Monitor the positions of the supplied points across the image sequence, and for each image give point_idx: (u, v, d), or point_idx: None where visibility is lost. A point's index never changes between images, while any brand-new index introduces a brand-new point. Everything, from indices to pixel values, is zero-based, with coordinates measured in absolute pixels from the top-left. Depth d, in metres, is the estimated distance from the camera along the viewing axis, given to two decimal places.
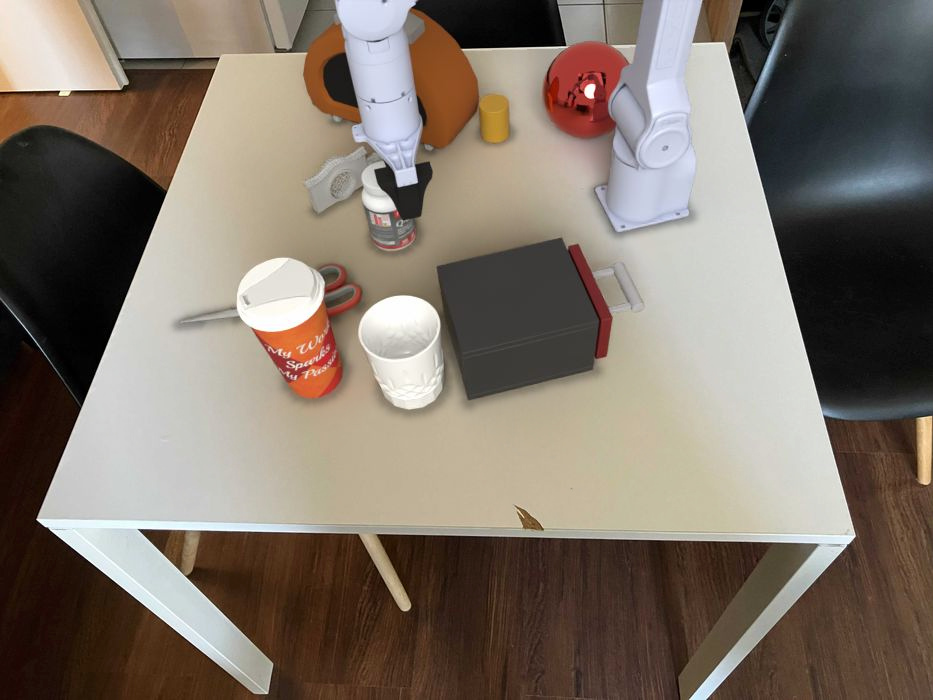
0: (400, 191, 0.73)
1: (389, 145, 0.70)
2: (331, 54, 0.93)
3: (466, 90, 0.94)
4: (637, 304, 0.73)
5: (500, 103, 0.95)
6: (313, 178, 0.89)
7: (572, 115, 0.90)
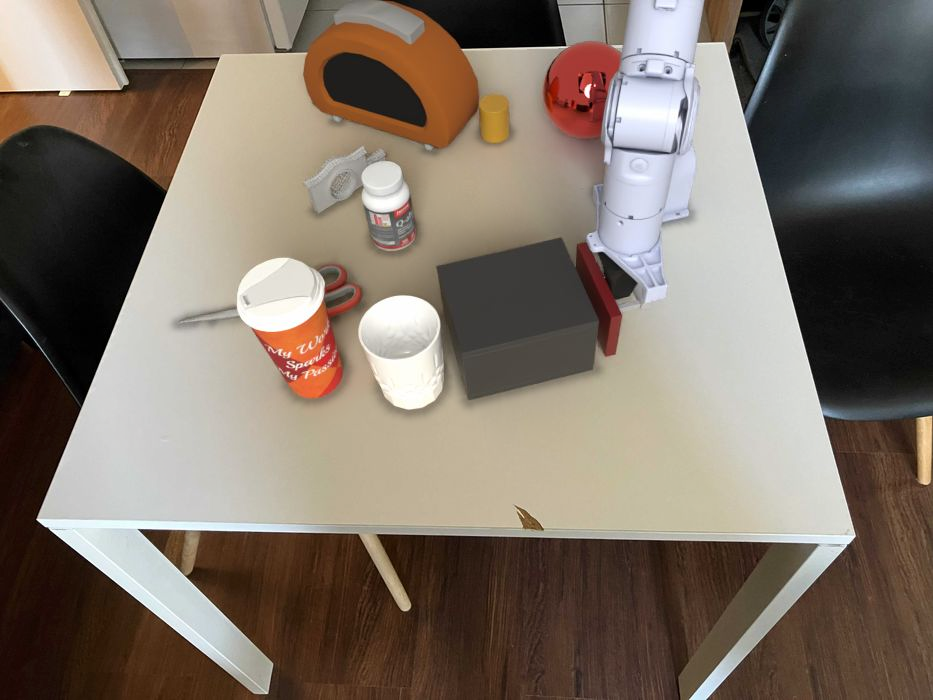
0: (619, 274, 0.72)
1: (632, 257, 0.67)
2: (331, 54, 0.93)
3: (466, 90, 0.94)
4: None
5: (500, 103, 0.95)
6: (313, 178, 0.89)
7: (572, 115, 0.90)
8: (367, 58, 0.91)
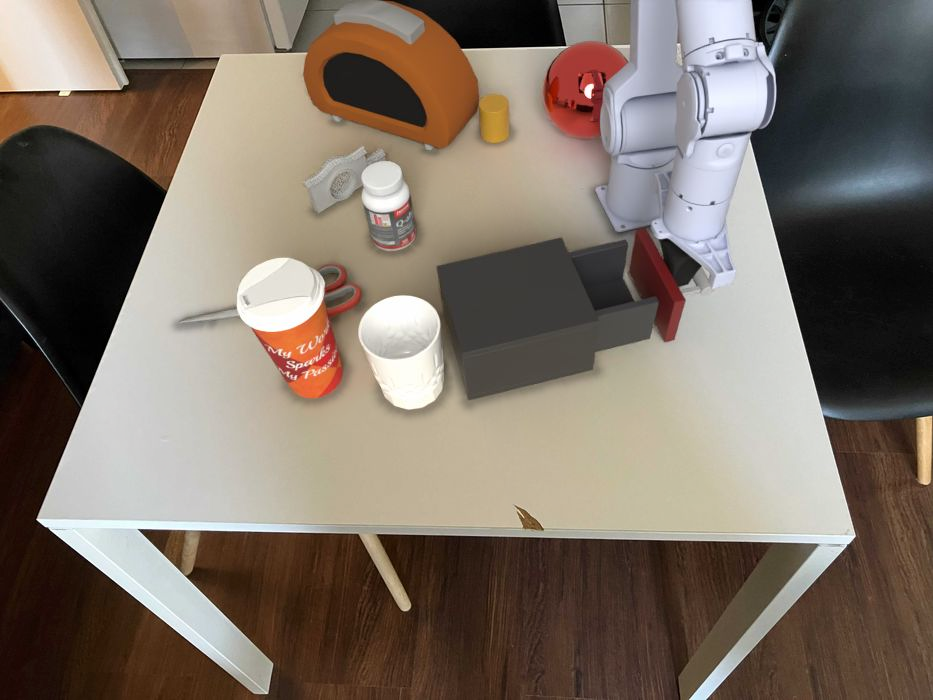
0: None
1: (698, 244, 0.68)
2: (331, 54, 0.93)
3: (466, 90, 0.94)
4: (707, 287, 0.74)
5: (500, 103, 0.95)
6: (313, 178, 0.89)
7: (572, 115, 0.90)
8: (367, 58, 0.91)
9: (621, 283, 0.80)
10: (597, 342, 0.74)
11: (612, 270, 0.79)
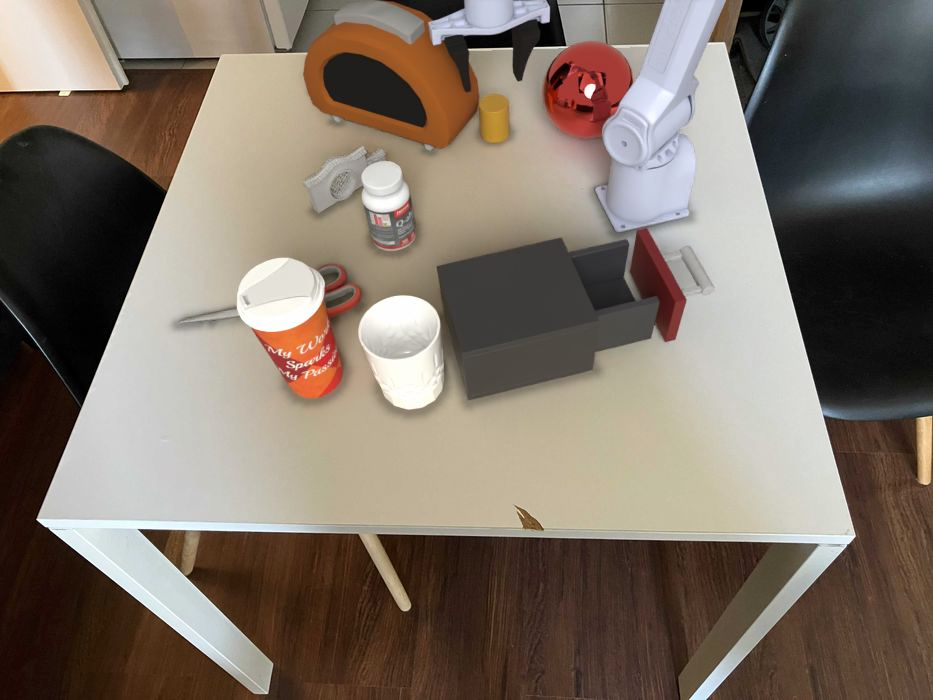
0: None
1: (463, 17, 0.86)
2: (331, 54, 0.93)
3: None
4: (708, 287, 0.74)
5: (500, 103, 0.95)
6: (313, 178, 0.89)
7: (572, 115, 0.90)
8: (367, 58, 0.91)
9: (622, 283, 0.80)
10: (598, 342, 0.74)
11: (613, 270, 0.79)
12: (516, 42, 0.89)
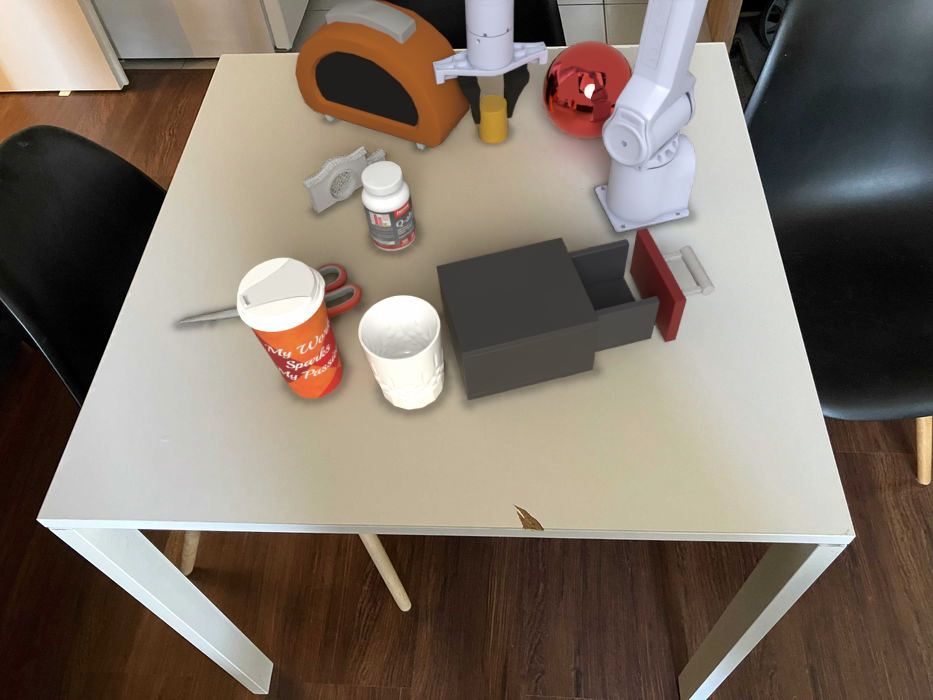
0: None
1: (466, 58, 0.90)
2: (322, 54, 0.93)
3: (458, 89, 0.94)
4: (708, 287, 0.74)
5: (498, 103, 0.95)
6: (313, 178, 0.89)
7: (572, 115, 0.90)
8: (359, 57, 0.91)
9: (622, 283, 0.80)
10: (598, 342, 0.74)
11: (613, 270, 0.79)
12: (507, 82, 0.94)
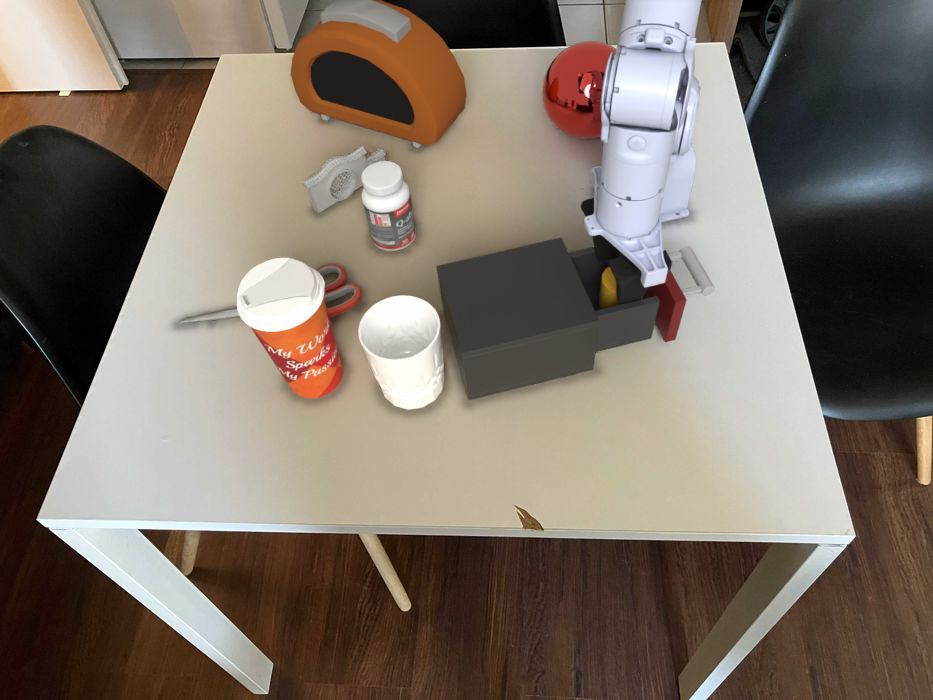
0: None
1: (630, 240, 0.65)
2: (318, 53, 0.93)
3: (453, 87, 0.94)
4: (708, 287, 0.74)
5: None
6: (313, 178, 0.89)
7: (572, 115, 0.90)
8: (354, 56, 0.91)
9: None
10: (598, 342, 0.74)
11: None
12: None
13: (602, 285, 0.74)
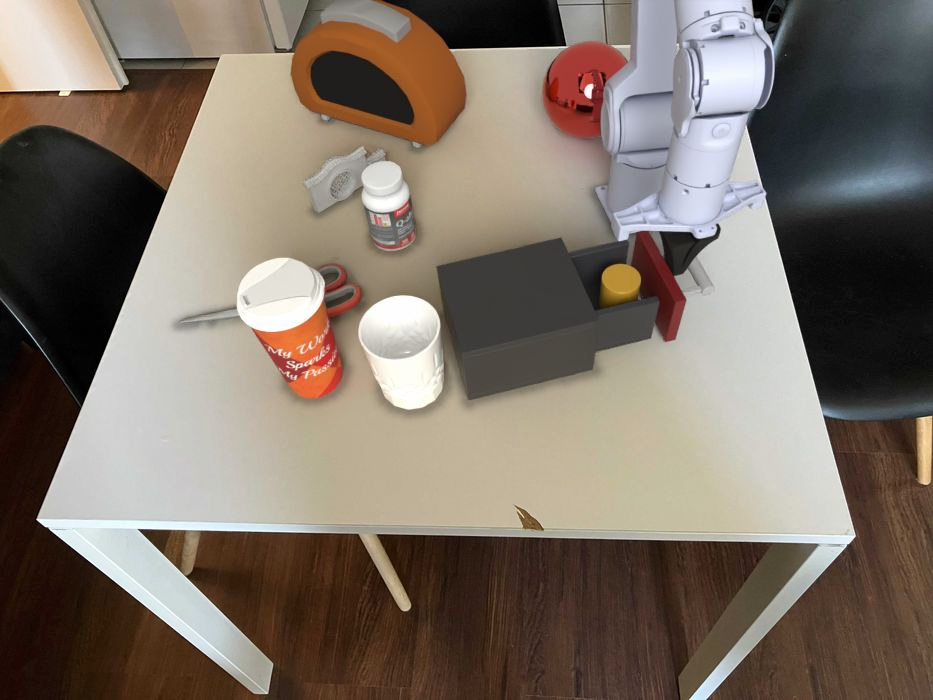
0: None
1: (722, 203, 0.67)
2: (318, 53, 0.93)
3: (453, 87, 0.94)
4: (708, 287, 0.74)
5: (622, 271, 0.74)
6: (313, 178, 0.89)
7: (572, 115, 0.90)
8: (354, 56, 0.91)
9: None
10: (598, 342, 0.74)
11: None
12: None
13: (602, 285, 0.74)
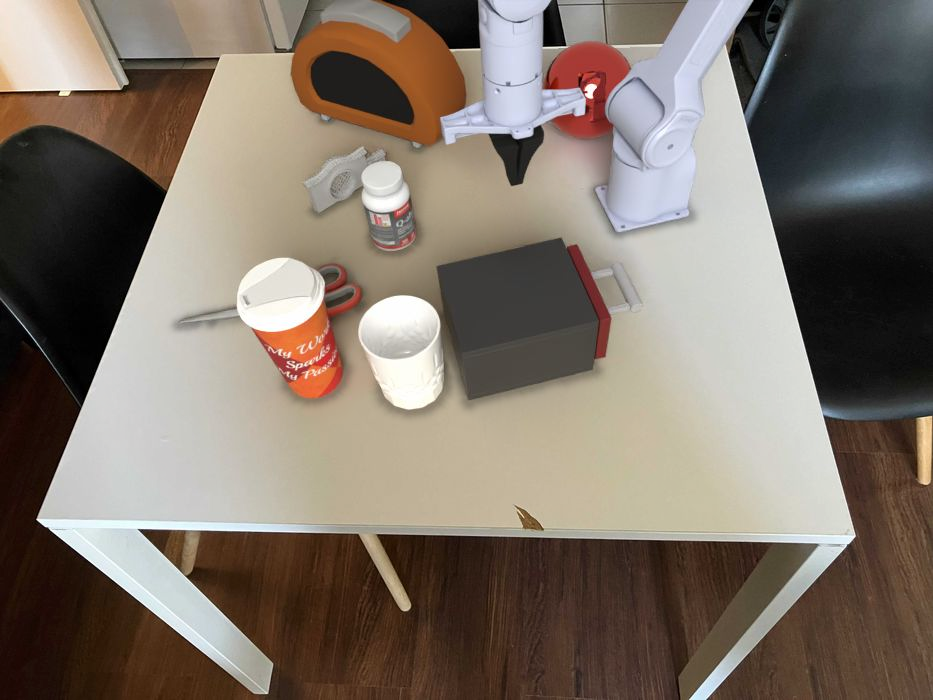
0: None
1: (544, 108, 0.71)
2: (318, 53, 0.93)
3: (453, 87, 0.94)
4: (636, 304, 0.73)
5: None
6: (313, 178, 0.89)
7: (572, 115, 0.90)
8: (354, 56, 0.91)
9: None
10: None
11: None
12: None
13: None
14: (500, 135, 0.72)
